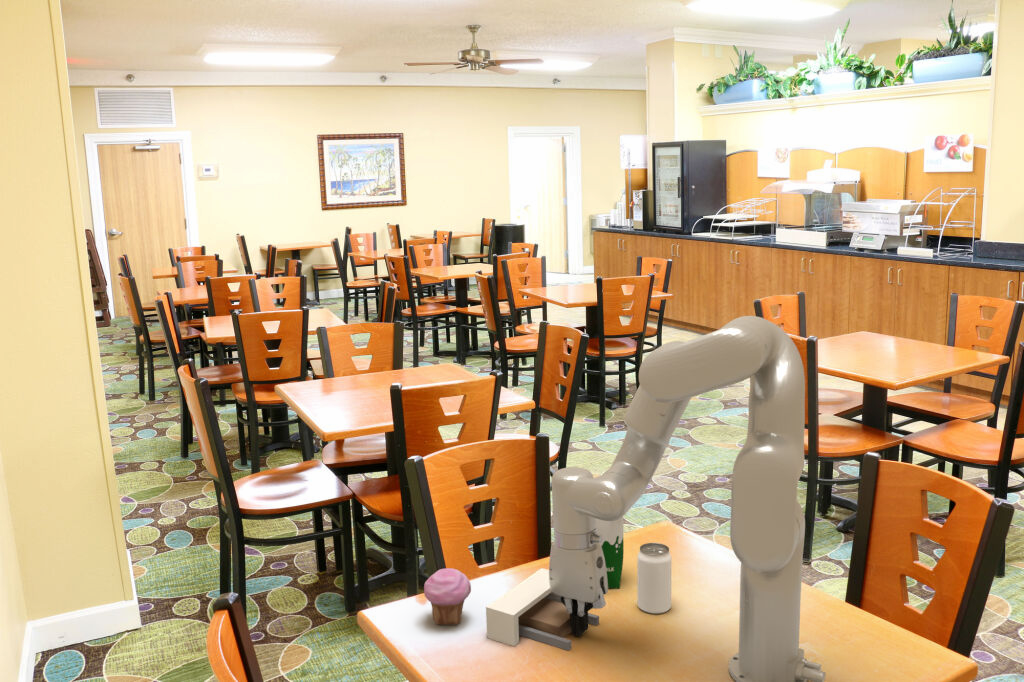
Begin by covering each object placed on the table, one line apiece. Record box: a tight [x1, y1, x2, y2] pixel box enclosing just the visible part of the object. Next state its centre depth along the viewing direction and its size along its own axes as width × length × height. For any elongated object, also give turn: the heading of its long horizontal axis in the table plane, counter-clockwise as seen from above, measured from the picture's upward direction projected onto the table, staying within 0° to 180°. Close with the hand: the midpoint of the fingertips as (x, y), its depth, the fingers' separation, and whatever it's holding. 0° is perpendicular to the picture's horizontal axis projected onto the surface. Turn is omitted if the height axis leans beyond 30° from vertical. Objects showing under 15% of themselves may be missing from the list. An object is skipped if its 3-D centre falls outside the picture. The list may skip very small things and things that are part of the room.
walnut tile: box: [518, 598, 572, 638], centre depth 162 cm, size 11×8×3 cm
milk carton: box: [595, 516, 625, 589], centre depth 178 cm, size 9×9×20 cm
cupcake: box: [423, 567, 472, 626], centre depth 164 cm, size 9×9×10 cm
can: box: [636, 542, 672, 615], centre depth 167 cm, size 6×6×12 cm
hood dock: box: [485, 567, 600, 652], centre depth 161 cm, size 15×19×6 cm
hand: (579, 632), depth 158 cm, fingers closed
